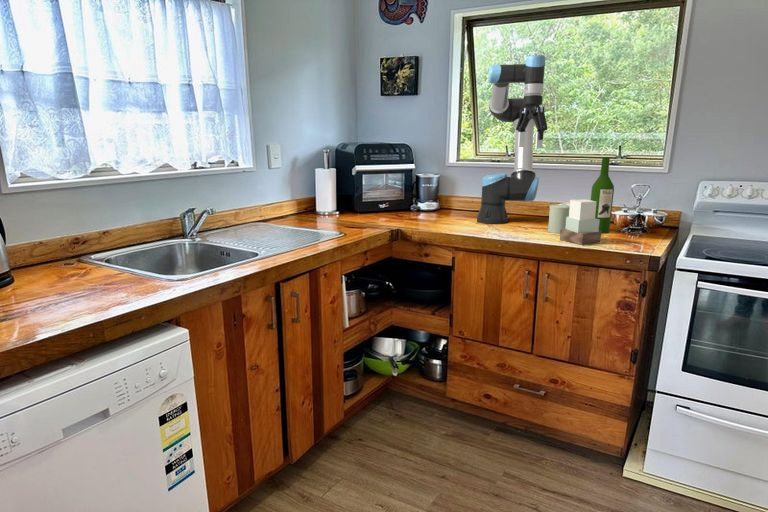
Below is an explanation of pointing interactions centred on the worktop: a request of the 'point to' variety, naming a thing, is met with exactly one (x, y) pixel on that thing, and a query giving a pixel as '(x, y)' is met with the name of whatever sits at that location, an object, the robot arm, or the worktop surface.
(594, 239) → the base block
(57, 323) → the worktop surface
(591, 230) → the top block
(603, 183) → the wine bottle
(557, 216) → the can
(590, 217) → the cube
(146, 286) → the worktop surface
